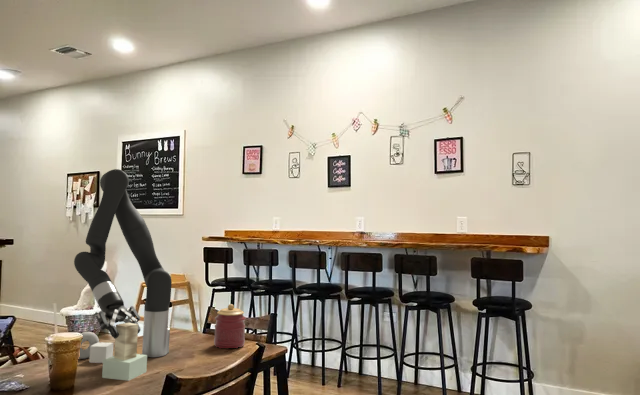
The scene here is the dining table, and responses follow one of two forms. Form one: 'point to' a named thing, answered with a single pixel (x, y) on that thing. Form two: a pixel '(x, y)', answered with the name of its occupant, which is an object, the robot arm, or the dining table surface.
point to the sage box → (124, 367)
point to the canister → (229, 328)
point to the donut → (92, 340)
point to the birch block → (126, 341)
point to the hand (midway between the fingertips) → (127, 334)
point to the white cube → (100, 352)
